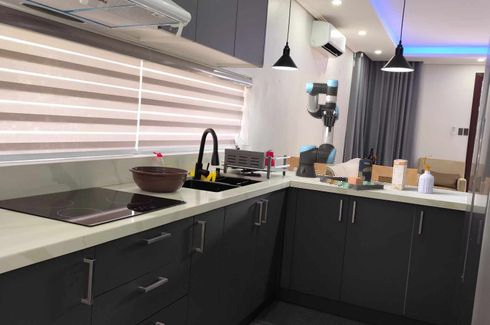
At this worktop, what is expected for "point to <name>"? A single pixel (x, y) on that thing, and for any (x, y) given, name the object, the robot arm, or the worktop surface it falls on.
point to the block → (355, 180)
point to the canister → (365, 169)
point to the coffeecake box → (399, 174)
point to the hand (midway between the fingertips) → (327, 136)
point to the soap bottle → (426, 181)
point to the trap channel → (345, 183)
